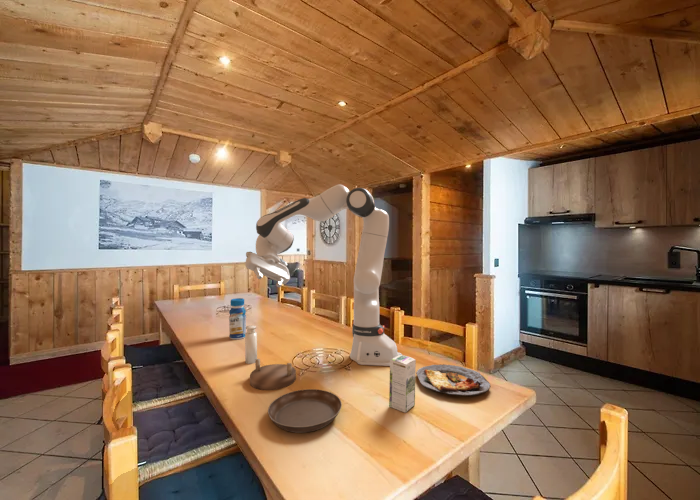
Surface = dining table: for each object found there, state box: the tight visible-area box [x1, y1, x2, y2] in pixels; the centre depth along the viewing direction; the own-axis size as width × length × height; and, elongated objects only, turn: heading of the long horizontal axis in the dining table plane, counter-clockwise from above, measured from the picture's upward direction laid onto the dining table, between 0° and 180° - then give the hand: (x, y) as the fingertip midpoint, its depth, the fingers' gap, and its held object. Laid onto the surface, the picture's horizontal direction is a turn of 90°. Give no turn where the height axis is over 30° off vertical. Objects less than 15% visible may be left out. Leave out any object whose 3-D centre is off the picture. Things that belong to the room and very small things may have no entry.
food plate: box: [415, 363, 491, 397], centre depth 109 cm, size 25×23×4 cm
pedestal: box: [249, 358, 297, 391], centre depth 112 cm, size 16×16×6 cm
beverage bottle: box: [228, 297, 247, 341], centre depth 162 cm, size 8×8×20 cm
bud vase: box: [244, 324, 258, 365], centre depth 129 cm, size 5×5×15 cm
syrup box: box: [388, 354, 417, 414], centre depth 94 cm, size 6×6×14 cm
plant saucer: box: [267, 388, 343, 434], centre depth 89 cm, size 21×21×3 cm
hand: (269, 282), depth 126 cm, fingers open, 8 cm apart
